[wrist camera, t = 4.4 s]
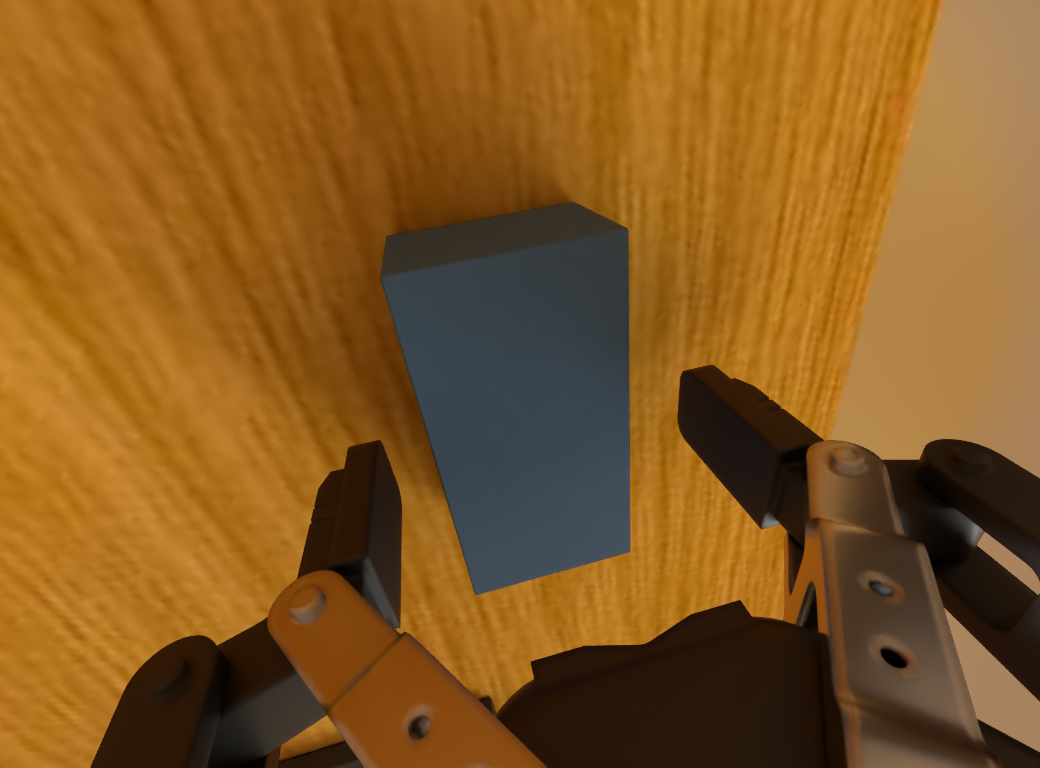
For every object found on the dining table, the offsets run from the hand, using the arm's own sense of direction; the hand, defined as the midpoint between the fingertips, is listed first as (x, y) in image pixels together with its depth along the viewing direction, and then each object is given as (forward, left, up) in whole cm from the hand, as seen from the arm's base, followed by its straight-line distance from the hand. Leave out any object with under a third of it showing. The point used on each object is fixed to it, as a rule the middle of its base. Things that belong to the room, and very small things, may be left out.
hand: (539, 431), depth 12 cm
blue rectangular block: (0, 0, -3) cm, 3 cm away
